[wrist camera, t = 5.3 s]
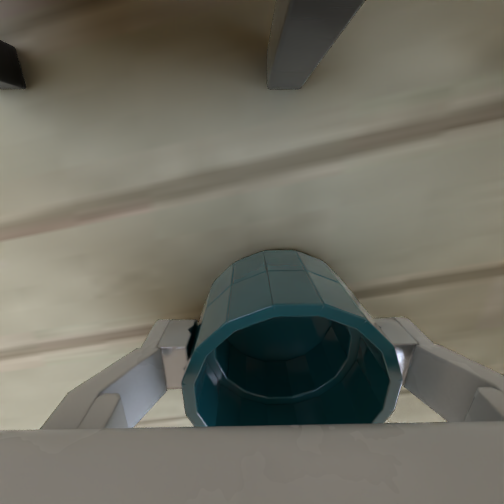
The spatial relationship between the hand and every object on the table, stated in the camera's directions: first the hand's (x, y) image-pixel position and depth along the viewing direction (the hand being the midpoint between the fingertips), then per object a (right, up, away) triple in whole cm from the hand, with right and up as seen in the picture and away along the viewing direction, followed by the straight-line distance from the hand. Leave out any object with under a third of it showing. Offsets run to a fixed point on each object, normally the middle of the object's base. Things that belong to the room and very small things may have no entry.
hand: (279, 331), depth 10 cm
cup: (0, 0, +2) cm, 2 cm away
